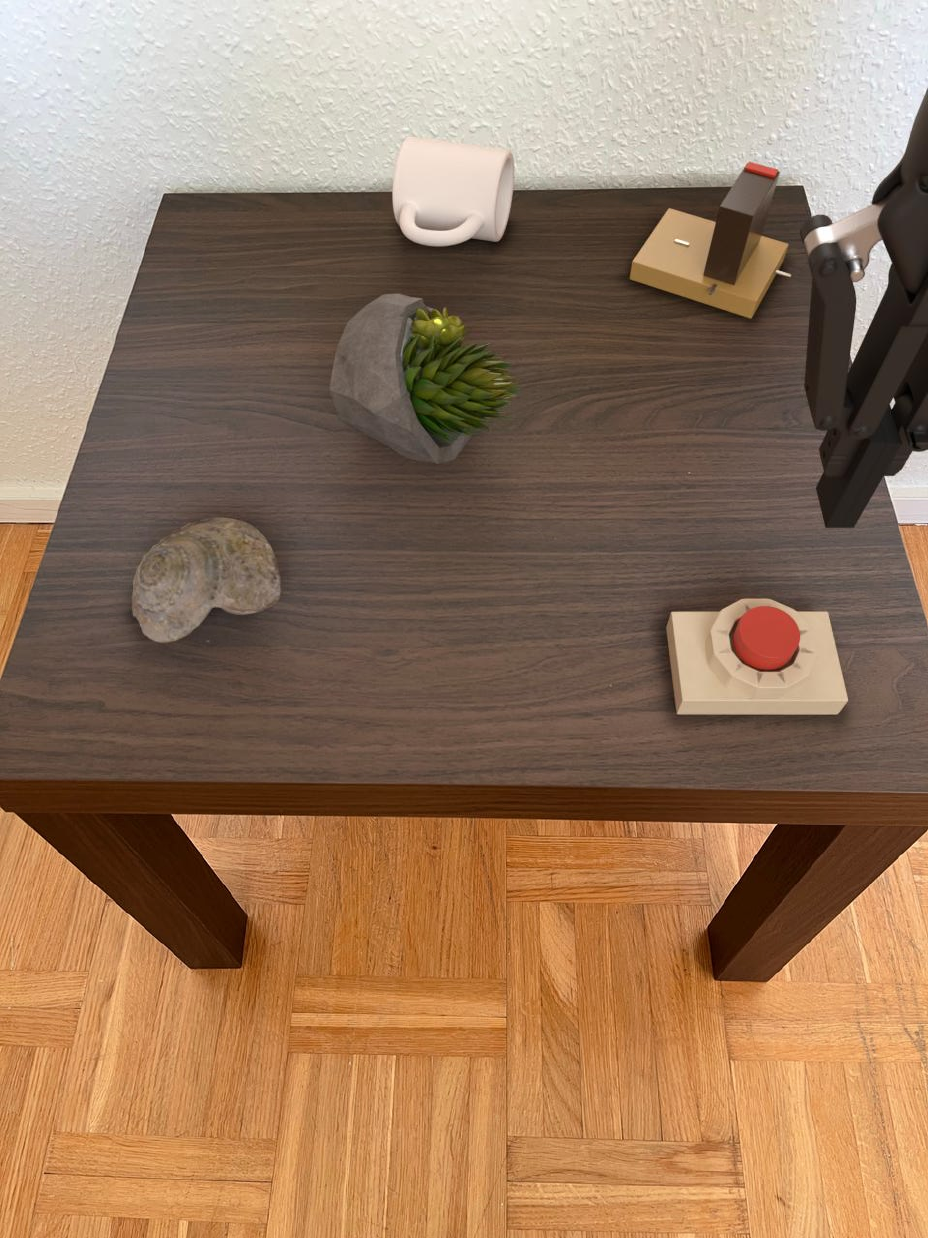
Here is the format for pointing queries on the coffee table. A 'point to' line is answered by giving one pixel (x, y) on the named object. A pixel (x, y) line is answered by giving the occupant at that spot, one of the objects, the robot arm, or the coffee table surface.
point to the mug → (451, 191)
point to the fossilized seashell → (203, 577)
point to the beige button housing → (731, 686)
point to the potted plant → (416, 379)
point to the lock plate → (681, 260)
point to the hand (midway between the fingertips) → (834, 507)
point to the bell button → (766, 638)
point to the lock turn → (740, 222)
